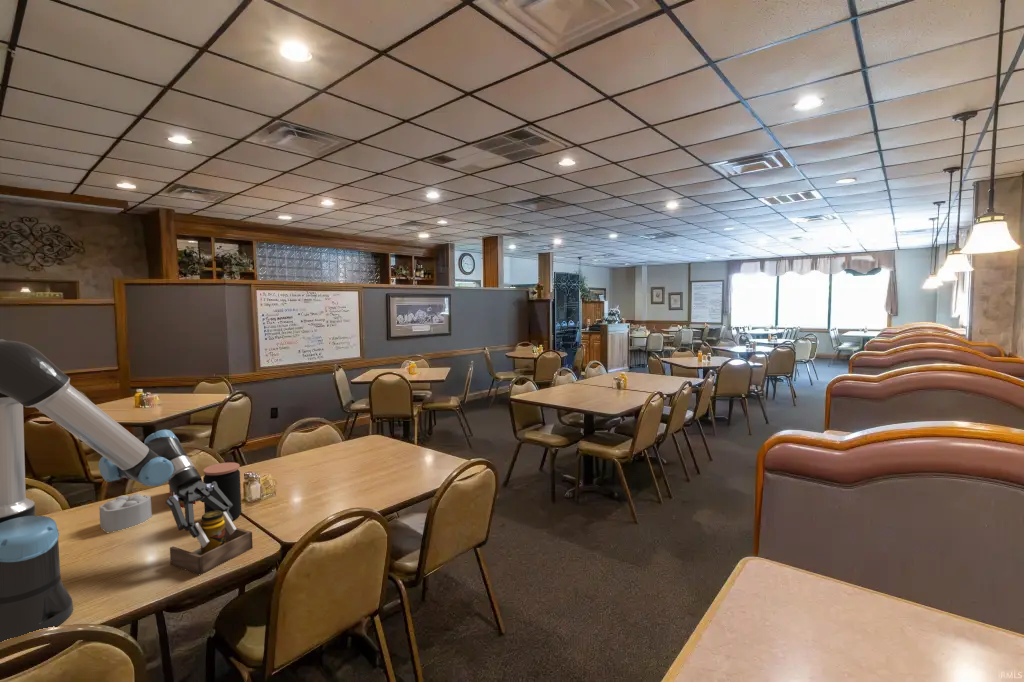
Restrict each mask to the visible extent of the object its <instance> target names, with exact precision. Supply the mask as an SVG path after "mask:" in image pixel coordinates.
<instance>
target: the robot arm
mask: <svg viewBox="0 0 1024 682" xmlns="http://www.w3.org/2000/svg"><path fill="white" fill-rule="evenodd" d="M70 381H71V377H69V376H68V375H67V374H66V373H65V372H63V370H61V369H60V368H59V367H58V366H56V365H55V363H53V362H52V361H51V360H50V359H49V358H47V357H46V356H45V354H43V353H42V352H41V351H40V350H39V349H37V348H35V347H34V346H32V345H30V344H28V343H26V342H22V341H18V340H5V339H3V338H1V339H0V642H2V641H4V640H7V639H10V638H14V637H18V636H21V635H24V634H27V633H29V632H33V631H36V630H39V629H43V628H48V627H53V626H57V627H58V626H60V625H61V624H62V623H64V622H66V620H67V619H69V618H70V616H71V615H72V613H73V610H74V605H73V604H74V603H73V602H74V601H73V598H72V597H71V595H70V593H69V592H68V590H67V588H66V587H65V585H64V584H63V582H62V580H61V579H62V578H61V565H60V564H61V562H60V547H59V545H60V544H59V536H60V532H59V529H58V525H57V522H56V521H55V520H54V519H53V518H51V517H49V516H45V515H38V516H37V515H36V506H35V505H36V504H35V503H36V502H35V501H33V500H32V499H29V498H27V497H26V465H25V464H26V463H25V462H26V461H25V459H26V458H25V429H24V428H25V423H24V420H25V419H24V407H25V408H35V409H37V410H38V411H40V412H41V414H43V415H46V417H48V418H49V419H51V420H52V421H53V422H55V423H56V424H58V425H59V426H60V427H62V428H63V429H65V430H66V431H67V432H69V433H70V434H72V435H73V436H74V437H76V438H77V439H78V440H80V441H81V442H82V443H83V444H86V445H87V446H88V447H90V448H91V449H92V450H94V451H95V452H97V454H100V456H101V458H100V459H99V461H98V469H99V473H100V475H101V477H102V478H103V480H105V481H106V482H110V483H112V482H114V481H119V480H121V479H123V478H126V479H127V480H131V481H133V482H138V483H139V484H141V485H143V486H146V487H147V486H148V487H157V486H162V485H164V484H166V483H168V485H169V486H170V487H171V489H172V491H173V492H174V493H175V495H174V496H169V497H168V499H167V500H166V501H165V504H166V505H167V506H168V507H169V508H170V510H171V513H172V516H173V519H174V521H175V524H176V527H177V529H178V531H182V530H185V531H186V532H188V531H189V534H191V537H192V538H194V539H195V538H196V539H197V541H198V542H199V544H200V547H201V546H202V548H203V547H205V546H206V545H207V544H208V543H209V540H208V538H207V536H206V535H205V533H204V531H203V530H202V528H201V524H200V523H199V522H196V523H195V514H194V511H195V510H194V505H193V503H194V502H195V503H196V502H199V501H200V502H201V503H203V504H204V503H206V504H207V505H208V506H210V507H211V508H213V509H214V510H215V511H222V512H223V520H224V521H225V528H226V529H227V531H228V532H229V534H230V535H231V534H233V533H234V531H235V530H236V528H237V527H236V526H235V523H234V522H233V521H232V520H233V518H232V516H231V514H230V513H229V509H230V508H231V507H232V505H233V504H232V503H231V502H230V501H229V500H228V498H227V497H226V496H225V495H224V494H223V492H222V491H221V490H220V489H219V488H218V486H217V483H216V482H215V481H214V482H212V483H211V484H206V483H204V482H203V478H202V476H201V475H200V473H199V472H198V470H197V468H196V466H195V464H194V463H193V462H192V459H190V457H189V456H188V454H187V452H186V451H185V449H184V448H183V445H182V443H181V442H180V440H179V438H178V437H177V436H176V435H175V433H174V432H173V431H172V430H169V429H161V430H157V431H155V432H153V433H151V434H149V435H148V436H146V438H145V439H144V443H143V442H142V441H141V440H140V439H139V438H138V437H136V436H135V435H134V434H132V433H131V432H130V431H129V430H128V429H126V428H125V427H124V426H123V425H121V424H120V423H118V421H116V420H115V419H114V418H112V417H111V416H110V415H109V414H108V413H106V412H105V411H104V410H102V409H101V408H100V407H98V406H97V405H96V404H95V403H94V402H92V401H91V400H90V399H89V398H88V397H86V395H84V394H83V393H81V392H80V391H78V389H77V388H75V387H74V386H73V385H72V384H70ZM206 489H208V491H209V492H211V494H212V495H213V496H214V497H212V496H211V495H210V493H209V492H208V491H206ZM204 496H205V497H204ZM178 500H181V501H183V503H184V507H183V508H184V512H183V510H182V508H181V507H180V504H179V502H178Z"/></svg>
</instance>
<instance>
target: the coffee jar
mask: <svg viewBox="0 0 1024 682" xmlns="http://www.w3.org/2000/svg"><path fill="white" fill-rule="evenodd" d="M202 473H203V475H204V476H203V478H202V481H203V482H204V483H206V484H211V483H212V482H214V481H215V482H216V483H217V486H218V488H219V489H220V490H221V491H222V492H223V494H224V495H225V496H226V497H227V498H228V500H229V501H230V502H231V503H232V504H233V505H232V507H231V508H230V509H229V513H230V514H231V516H232V518H233V520H232V522H233V521H235V519H236V520H237V519H238V518H239V517H240V516H241V513H242V493H241V491H242V489H241V472H240V464H239V463H238V462H233V461H232V462H220V463H216V464H211V465H208V466H206V467H204V468H203V470H202ZM206 491H208V489H206ZM208 492H209V491H208ZM209 493H210V495H211V496H212V497H214V496H213V495H212V494H211V492H209ZM204 497H205V496H204ZM203 504H204V507H203V508H204V514H205V513H207V512H210V511H215V510H214V509H213V508H211V507H210V506H208V505H207V504H206V503H204V502H203Z"/></svg>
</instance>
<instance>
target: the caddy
mask: <svg viewBox="0 0 1024 682" xmlns="http://www.w3.org/2000/svg"><path fill="white" fill-rule="evenodd" d="M225 540H226V543H225V544H223V545H221V546H219V547H217V548H215V549H213V550H211V551H208V552H206V553H204V554H202V555H198V554H195V553H193V552H194V551H199V550H201V547H200V548H198V549H195V550H194V551H189V550H187V549H182V548H179V547H176V546H170V547H169V553H170V554H169V556H170V560H169V561H170V566H173V567H176V568H178V567H179V568H178V569H181V568H182V570H184V569H186V570H185V571H187V570H188V571H187V572H190V571H191V572H190V573H193V572H194V574H196V575H199V574H200V575H199V576H201V574H202V575H203V573H204V574H205V573H207V572H209V571H211V570H214V569H215V568H217V567H219V566H221V565H222V563H223V564H224V562H225V563H226V561H227V562H228V560H229V561H230V559H231V560H232V559H234V558H236V557H239V556H240V555H242V554H244V553H246V552H248V551H250V550H251V549H253V548H254V546H253V544H254V543H253V531H250V530H247V529H242V528H238V527H236V530H235V531H234V533H233V534H231V535H230V534H229V532H228V531H227V529H226V528H225ZM220 564H221V565H220ZM218 565H219V566H218ZM216 566H217V567H216ZM214 567H215V568H214Z"/></svg>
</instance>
